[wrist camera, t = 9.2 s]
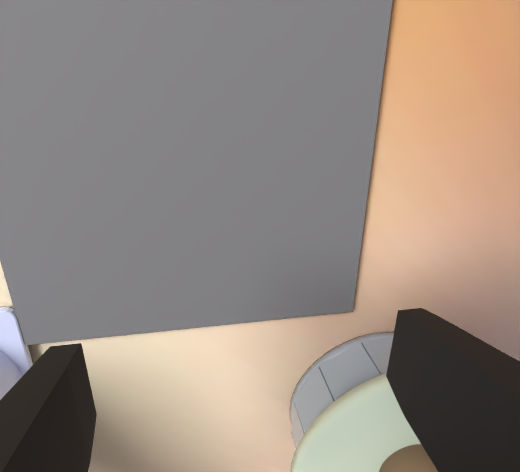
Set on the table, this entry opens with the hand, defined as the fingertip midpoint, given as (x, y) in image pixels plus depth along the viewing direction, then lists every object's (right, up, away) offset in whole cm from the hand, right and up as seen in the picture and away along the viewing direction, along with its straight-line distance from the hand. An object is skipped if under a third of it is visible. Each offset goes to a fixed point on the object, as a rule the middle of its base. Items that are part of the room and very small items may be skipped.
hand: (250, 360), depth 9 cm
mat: (-3, +6, +8) cm, 10 cm away
